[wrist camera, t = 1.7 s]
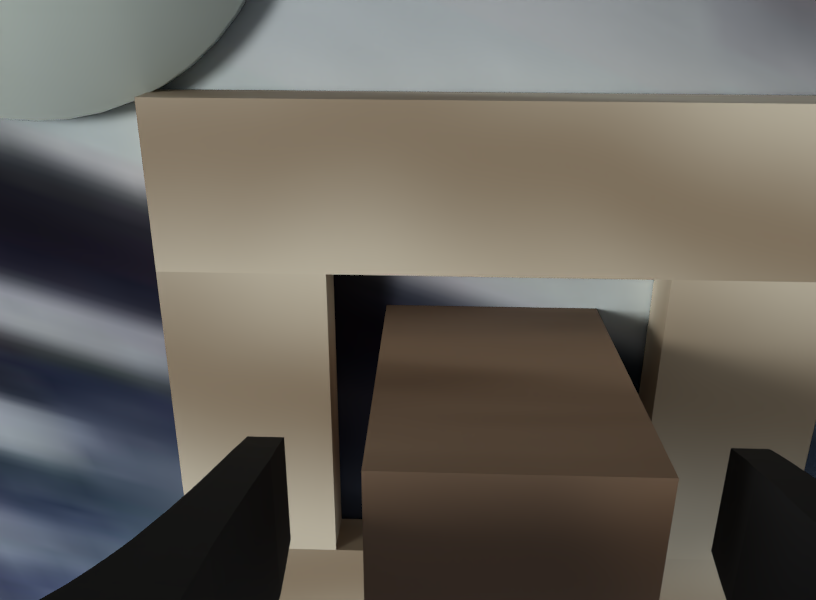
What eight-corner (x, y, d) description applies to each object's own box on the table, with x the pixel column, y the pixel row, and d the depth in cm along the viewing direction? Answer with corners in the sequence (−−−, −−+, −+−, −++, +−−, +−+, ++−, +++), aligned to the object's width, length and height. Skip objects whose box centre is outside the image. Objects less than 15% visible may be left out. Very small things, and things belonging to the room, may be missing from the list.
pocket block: (740, 637, 18) (756, 672, 17) (216, 622, 18) (204, 655, 17) (857, 95, 13) (889, 104, 12) (154, 89, 14) (134, 97, 13)
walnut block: (577, 483, 16) (641, 709, 11) (387, 478, 17) (366, 700, 11) (596, 308, 15) (678, 478, 10) (386, 304, 15) (360, 471, 10)
